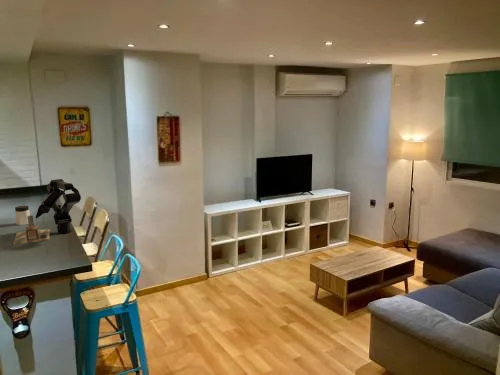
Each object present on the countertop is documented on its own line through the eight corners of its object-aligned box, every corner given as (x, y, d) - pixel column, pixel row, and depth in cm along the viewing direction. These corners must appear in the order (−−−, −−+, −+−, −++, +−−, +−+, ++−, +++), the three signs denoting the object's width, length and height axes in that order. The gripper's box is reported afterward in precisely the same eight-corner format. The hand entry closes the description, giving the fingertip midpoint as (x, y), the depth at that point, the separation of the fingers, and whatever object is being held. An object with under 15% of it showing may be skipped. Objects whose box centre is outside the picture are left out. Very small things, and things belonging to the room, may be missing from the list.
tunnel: (39, 235, 252) (37, 225, 251) (38, 239, 244) (37, 228, 243) (28, 237, 249) (26, 226, 248) (27, 240, 242) (25, 229, 241)
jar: (14, 224, 286) (12, 207, 284) (25, 221, 293) (23, 205, 291) (21, 225, 282) (19, 208, 280) (33, 222, 289) (31, 206, 287)
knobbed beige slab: (39, 230, 264) (37, 214, 263) (37, 238, 246) (35, 221, 245) (28, 231, 262) (26, 215, 260) (26, 239, 244) (24, 222, 242)
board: (49, 230, 268) (49, 228, 268) (49, 240, 246) (48, 238, 246) (17, 234, 261) (17, 232, 261) (13, 244, 238) (13, 243, 238)
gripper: (63, 207, 256) (46, 227, 255) (66, 202, 274) (50, 220, 272) (47, 196, 252) (30, 216, 251) (51, 191, 270) (35, 210, 268)
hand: (37, 216), depth 261 cm, fingers open, 9 cm apart
